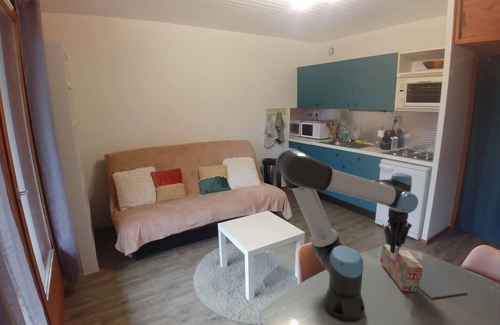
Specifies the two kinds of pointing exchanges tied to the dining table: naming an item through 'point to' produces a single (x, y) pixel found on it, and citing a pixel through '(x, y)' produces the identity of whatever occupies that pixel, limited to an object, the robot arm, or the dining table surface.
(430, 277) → the mat
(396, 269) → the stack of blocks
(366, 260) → the dining table surface
